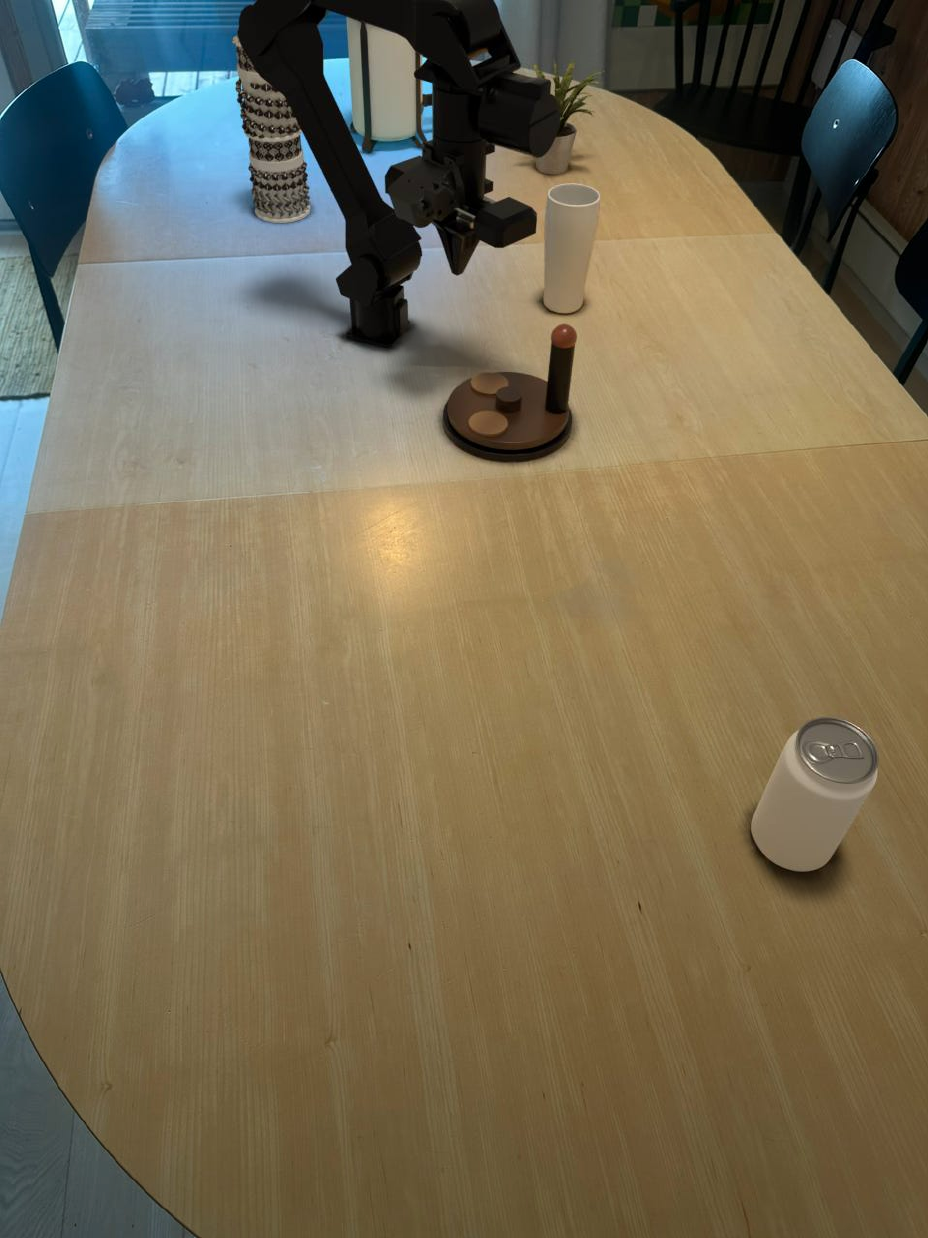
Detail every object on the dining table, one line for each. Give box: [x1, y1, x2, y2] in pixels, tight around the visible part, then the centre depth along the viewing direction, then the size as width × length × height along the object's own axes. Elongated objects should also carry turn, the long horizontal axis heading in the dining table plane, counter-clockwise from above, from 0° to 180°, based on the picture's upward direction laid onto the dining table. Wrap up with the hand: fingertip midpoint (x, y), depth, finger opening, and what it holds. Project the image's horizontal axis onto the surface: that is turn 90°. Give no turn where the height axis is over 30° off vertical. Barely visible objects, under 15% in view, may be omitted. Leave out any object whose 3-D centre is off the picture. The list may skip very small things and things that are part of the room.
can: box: [750, 716, 880, 872], centre depth 72 cm, size 6×6×12 cm
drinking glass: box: [542, 182, 601, 314], centre depth 126 cm, size 7×7×15 cm
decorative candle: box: [231, 34, 311, 224], centre depth 139 cm, size 9×9×25 cm
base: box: [442, 400, 574, 463], centre depth 112 cm, size 15×15×1 cm
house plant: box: [531, 58, 605, 176], centre depth 154 cm, size 14×14×16 cm
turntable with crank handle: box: [447, 323, 578, 450], centre depth 108 cm, size 14×14×11 cm
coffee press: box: [346, 17, 432, 154], centre depth 158 cm, size 17×16×30 cm
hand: (457, 273), depth 112 cm, fingers closed
